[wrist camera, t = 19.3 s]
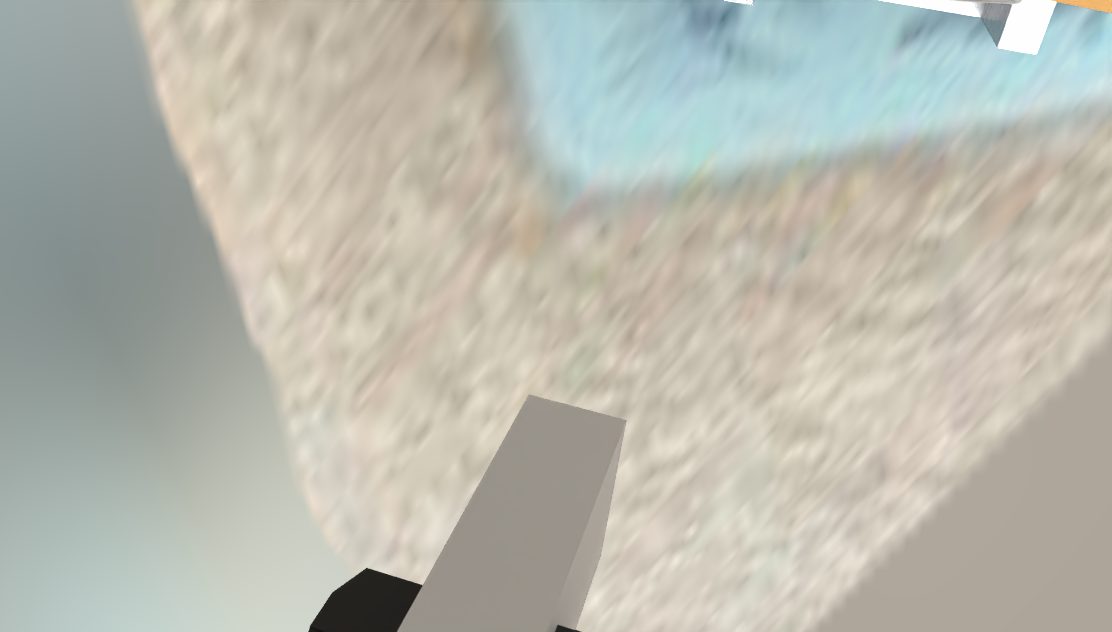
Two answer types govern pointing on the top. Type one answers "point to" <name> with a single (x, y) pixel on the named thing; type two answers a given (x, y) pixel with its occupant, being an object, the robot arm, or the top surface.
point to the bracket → (996, 19)
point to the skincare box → (990, 1)
